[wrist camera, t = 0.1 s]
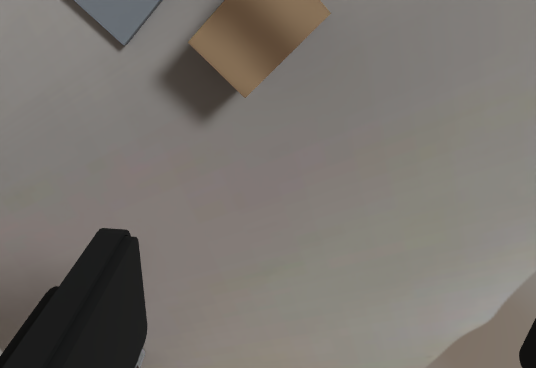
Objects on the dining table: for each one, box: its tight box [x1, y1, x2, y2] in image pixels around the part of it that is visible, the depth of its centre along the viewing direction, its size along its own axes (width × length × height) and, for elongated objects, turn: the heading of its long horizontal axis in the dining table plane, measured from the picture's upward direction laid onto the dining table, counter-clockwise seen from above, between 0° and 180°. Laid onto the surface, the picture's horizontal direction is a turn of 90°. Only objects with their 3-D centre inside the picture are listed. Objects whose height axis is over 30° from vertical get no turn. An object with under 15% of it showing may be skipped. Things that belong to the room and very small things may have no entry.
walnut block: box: [188, 0, 331, 98], centre depth 33 cm, size 9×6×6 cm, turn 135°
